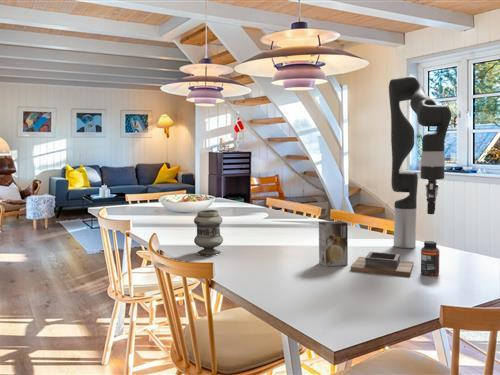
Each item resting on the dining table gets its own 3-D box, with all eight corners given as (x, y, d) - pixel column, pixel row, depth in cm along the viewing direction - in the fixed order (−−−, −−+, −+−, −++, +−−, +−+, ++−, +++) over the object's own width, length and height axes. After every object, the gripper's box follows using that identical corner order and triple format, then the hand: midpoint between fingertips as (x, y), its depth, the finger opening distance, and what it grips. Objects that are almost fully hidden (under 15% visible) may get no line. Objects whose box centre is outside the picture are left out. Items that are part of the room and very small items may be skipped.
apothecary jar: (188, 255, 189) (187, 211, 187) (204, 249, 199) (204, 208, 198) (213, 258, 183) (212, 213, 182) (228, 252, 194) (228, 209, 192)
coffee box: (340, 261, 177) (340, 220, 176) (348, 265, 171) (348, 222, 169) (318, 263, 174) (318, 221, 173) (325, 267, 168) (325, 223, 167)
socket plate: (358, 260, 178) (358, 249, 177) (413, 265, 170) (413, 253, 169) (350, 270, 163) (350, 258, 163) (410, 276, 155) (410, 263, 155)
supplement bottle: (434, 271, 161) (435, 240, 160) (442, 276, 155) (443, 243, 154) (417, 272, 161) (418, 240, 160) (424, 276, 155) (425, 243, 154)
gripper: (421, 164, 163) (420, 209, 164) (419, 165, 150) (418, 214, 151) (444, 164, 160) (443, 210, 161) (444, 165, 147) (442, 215, 148)
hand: (431, 212), depth 156 cm, fingers open, 8 cm apart
